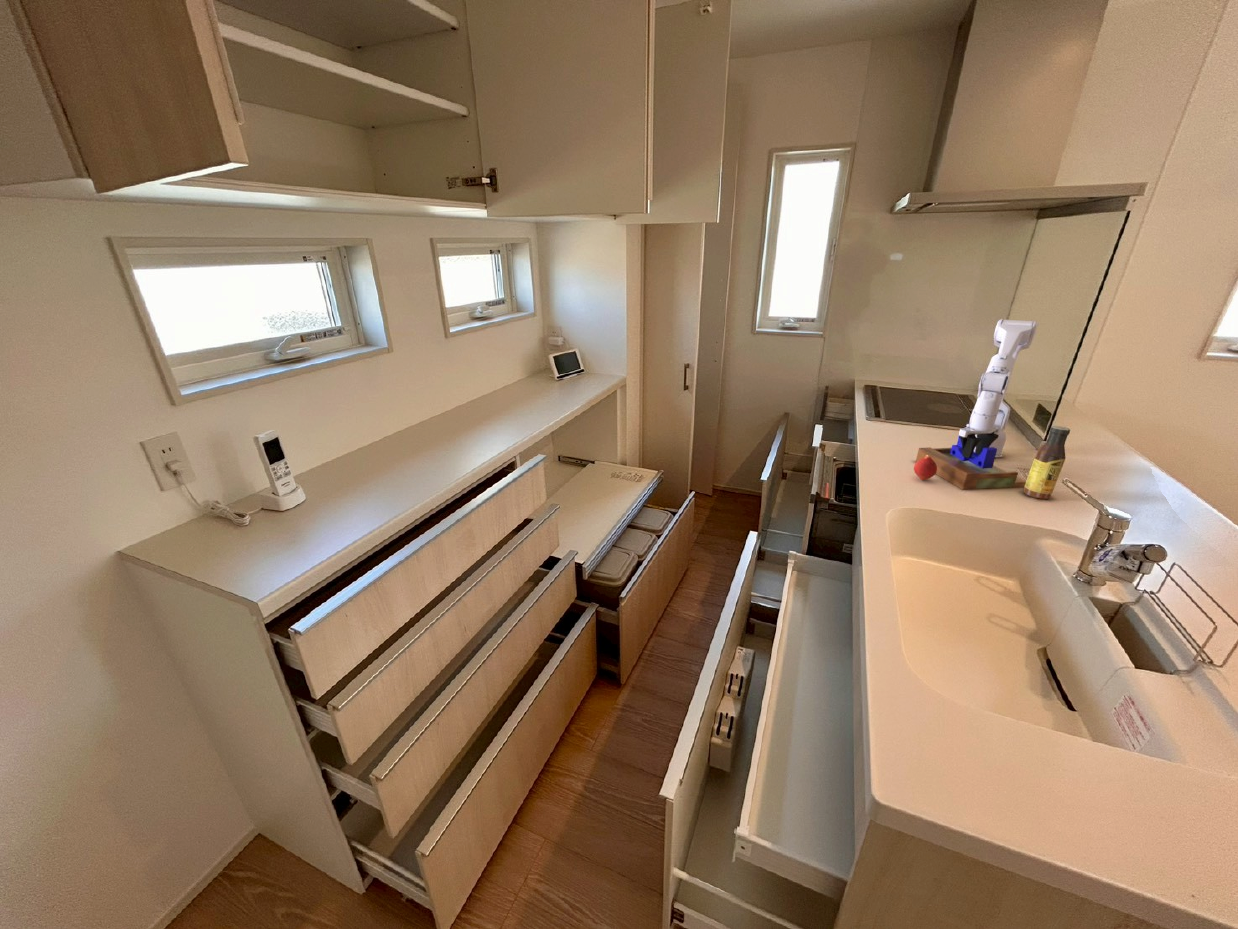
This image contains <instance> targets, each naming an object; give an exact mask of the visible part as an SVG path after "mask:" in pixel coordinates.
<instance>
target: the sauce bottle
mask: <svg viewBox="0 0 1238 929" xmlns="http://www.w3.org/2000/svg"><path fill="white" fill-rule="evenodd" d="M1070 433H1071V429H1070V428H1069V427H1065V426H1061V425H1052V426H1050V429H1049V434H1048V437H1047V438H1046V442H1045V443H1043V444H1041V446H1039V447H1038V449H1037V451H1036V454H1035V456H1034V459H1033V461H1032V464H1031V466H1030V469H1029V472H1028V475H1027V478H1026V480H1025V481H1026V483H1025V486H1024V488H1023V494H1025V495H1026V496H1029V497H1032V498H1033V499H1040V500H1041V499H1042V500H1046V499H1047V500H1048V499H1049V498H1050V497H1051V496H1052V494H1053V492H1054V490H1055V487H1056V485H1057V482H1058V479H1059V477H1060V474H1061V473H1062V472H1061V471H1062V469H1063V466H1064V464H1065V461H1066V447H1065V446H1066V441H1067V438H1068V436H1069V435H1070Z"/></svg>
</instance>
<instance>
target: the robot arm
mask: <svg viewBox="0 0 1238 929" xmlns="http://www.w3.org/2000/svg"><path fill="white" fill-rule="evenodd" d="M1038 326H1039V323H1038V321H1037V320H1021V319H1020V320H1019V319H1004V318H1000V319H999V320H998V321H997V323H996V326H995V329H994V333H993V345H994V346H995V347H997V348H999V349H998V353H997V354H995V355H993V356H992V357H991V359H990V361H989V364H988V366H987V369H986V371H985V372H983V373H982V375H981V377H980V381H979V384H978V392H977V394H976V395H977V396H976V398H977V399H976V402H975V405H974V407H973V410H972V412H971V415H970V418H969V423H966V425H965V426H966V427H963V428H960V429H959V432H958V438H959V437H960V440H961V443H962V456H963V457H965V458H968V459H969V458H971V456H972V454H973V452H975V453H976V454H977V455H978V456H979V455H980V454H981V452H982V451H983V448H988V447H994V448H996V449H997V452H996V456H995V458H1003V455H1002V453H1003V451H1004V447H1005V443H1006V440H1007V434H1006V432H1005V430H1006V427H1007V424H1008V421H1009V418H1010V413H1011V406H1009V405H1008V404H1007V403H1006V402H1005V401H1004V398H1005V395H1006V392H1007V390H1008V387H1009V385H1010V380H1011V376H1012V373H1013V371H1014V367H1015V364H1016V360H1017V357H1018V356H1019V354H1020V353H1021V351H1023V350H1027V349H1029V348H1030V346H1032V344H1033V341H1034V338H1035V335H1036V332H1037V329H1038Z"/></svg>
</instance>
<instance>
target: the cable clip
mask: <svg viewBox="0 0 1238 929" xmlns="http://www.w3.org/2000/svg"><path fill="white" fill-rule="evenodd" d="M956 442H957V443H956V444H951V447H950V448H951V452H950V454H951V455H953V456H955V457H957V458H958V459H960V460H962V461H969V462H971V463H973V464H975V465H977V466H979V467H980V468H982V469H983V468H992V467H993V465H994V462H995V459H996V457H995V456H996V452H997V449H996V448H994V447H988V448H983V451H982V452H981V454H980V455H979V456H978V455H977V454H976V453H975V452H973V454H972V456H971V458H969V459H968V458H965V457H963V456H962V443H961V440H960V437H959V436H958V438H957V441H956Z"/></svg>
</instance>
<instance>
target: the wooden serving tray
mask: <svg viewBox="0 0 1238 929" xmlns="http://www.w3.org/2000/svg"><path fill="white" fill-rule="evenodd" d="M951 448H952V447H937V448H936V447H935V448H933V447H918V450H917V454H916V458H915V463H916V462H917V461H918V460H920V459H922V458H925V457H926V455H929V456H930V458H931V459H932V460H933V461H934V462H935V463H936V466H937V472H936V474H935V475H937V476H939V477H940V478H942V479H944V480H945V481H947V482H949V483H951V484H952V485H954V486H955V487H957V488H959V489H961V490H981V489H1000V488H1001V489H1003V488H1020V487H1022V488H1023V487H1024V488H1025V483H1026V480H1025V479H1022V478H1020V477H1018V475H1019V472H1018V471H1016V470H1015V471H1007V470H1004V469H1003V468H1000V467H998V466H996V465H994V464H993V467H992V468H983V469H982V468H980V467H979V466H977V465H975V464H973V463H971V462H969V461H962V460H960V459H958V458H957V457H955V456H953V455H951V454H950V452H951Z"/></svg>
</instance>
